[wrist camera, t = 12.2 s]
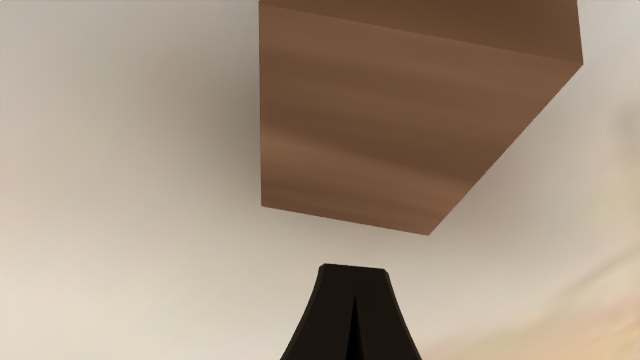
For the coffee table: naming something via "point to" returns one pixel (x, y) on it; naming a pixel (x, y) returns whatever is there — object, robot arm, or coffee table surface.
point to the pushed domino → (401, 100)
